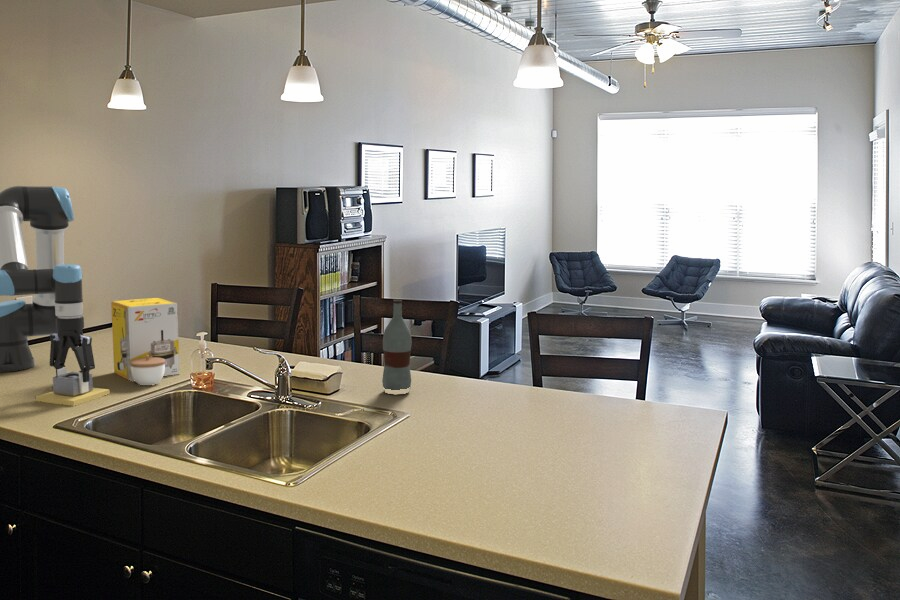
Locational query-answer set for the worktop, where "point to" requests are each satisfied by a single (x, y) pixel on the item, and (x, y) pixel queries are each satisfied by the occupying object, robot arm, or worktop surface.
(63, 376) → the grey square hollow block
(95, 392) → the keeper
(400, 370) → the bottle
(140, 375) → the lidded jar
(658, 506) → the worktop surface
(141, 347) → the packaging box
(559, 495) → the worktop surface
